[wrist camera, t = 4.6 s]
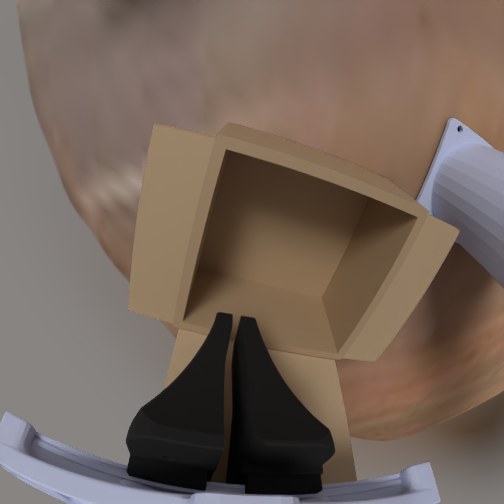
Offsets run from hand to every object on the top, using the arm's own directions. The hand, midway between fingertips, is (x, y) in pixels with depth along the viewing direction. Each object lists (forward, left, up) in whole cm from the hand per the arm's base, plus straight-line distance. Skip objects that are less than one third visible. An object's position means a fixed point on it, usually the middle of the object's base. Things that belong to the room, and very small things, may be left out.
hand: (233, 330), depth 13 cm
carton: (-2, -3, -8) cm, 8 cm away
